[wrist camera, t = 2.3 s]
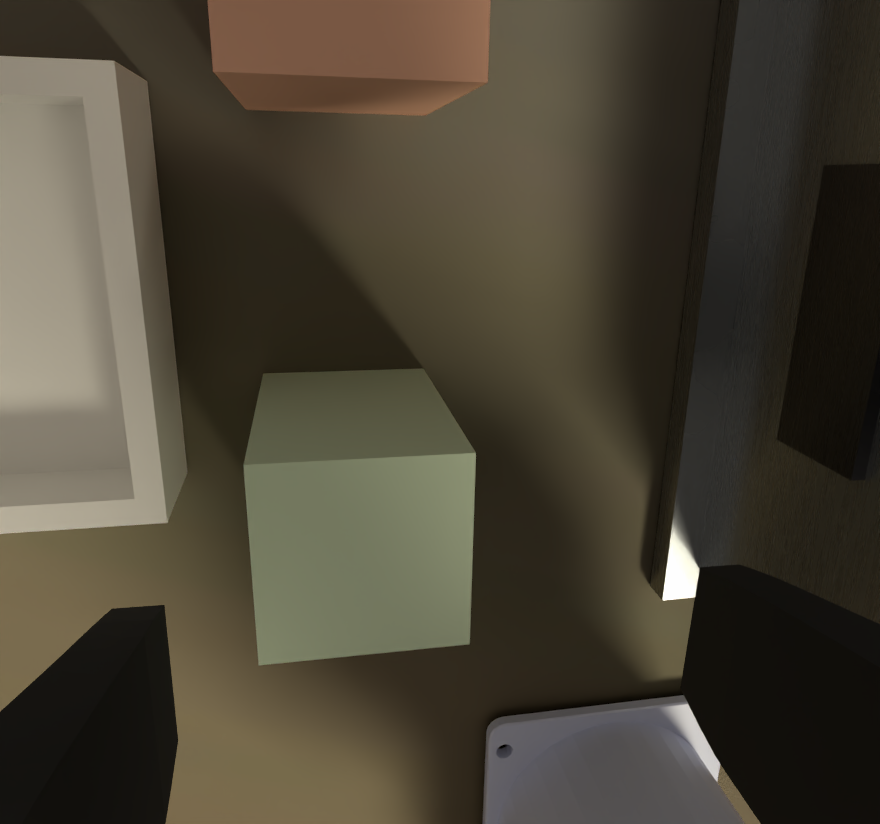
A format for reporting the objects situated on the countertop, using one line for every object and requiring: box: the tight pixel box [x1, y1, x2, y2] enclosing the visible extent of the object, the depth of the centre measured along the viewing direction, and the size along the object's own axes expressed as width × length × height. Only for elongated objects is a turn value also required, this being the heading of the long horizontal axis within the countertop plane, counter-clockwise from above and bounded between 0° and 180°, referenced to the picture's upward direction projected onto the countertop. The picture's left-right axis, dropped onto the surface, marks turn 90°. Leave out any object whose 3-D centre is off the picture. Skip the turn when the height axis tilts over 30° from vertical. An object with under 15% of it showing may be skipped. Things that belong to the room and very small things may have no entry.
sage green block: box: [243, 368, 476, 665], centre depth 16 cm, size 4×4×6 cm
